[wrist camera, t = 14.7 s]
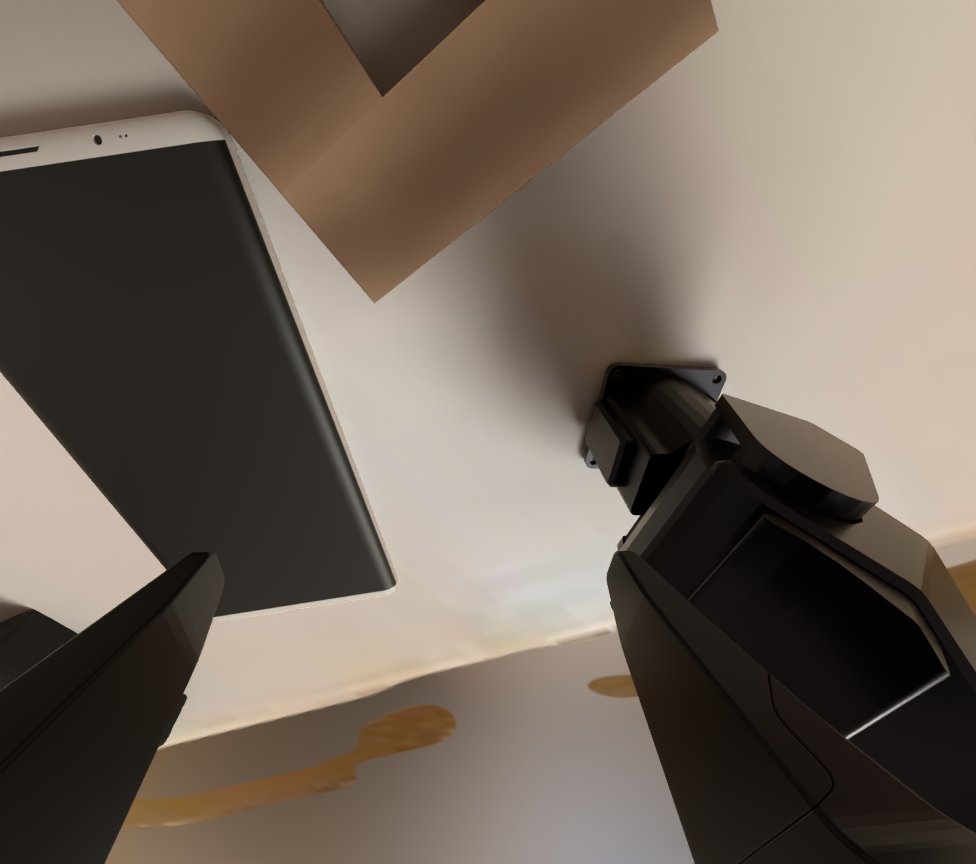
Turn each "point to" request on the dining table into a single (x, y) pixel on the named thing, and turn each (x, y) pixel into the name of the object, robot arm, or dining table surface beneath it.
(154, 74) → the dining table surface
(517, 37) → the bore caddy
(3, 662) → the coral
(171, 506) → the smartphone
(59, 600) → the dining table surface
